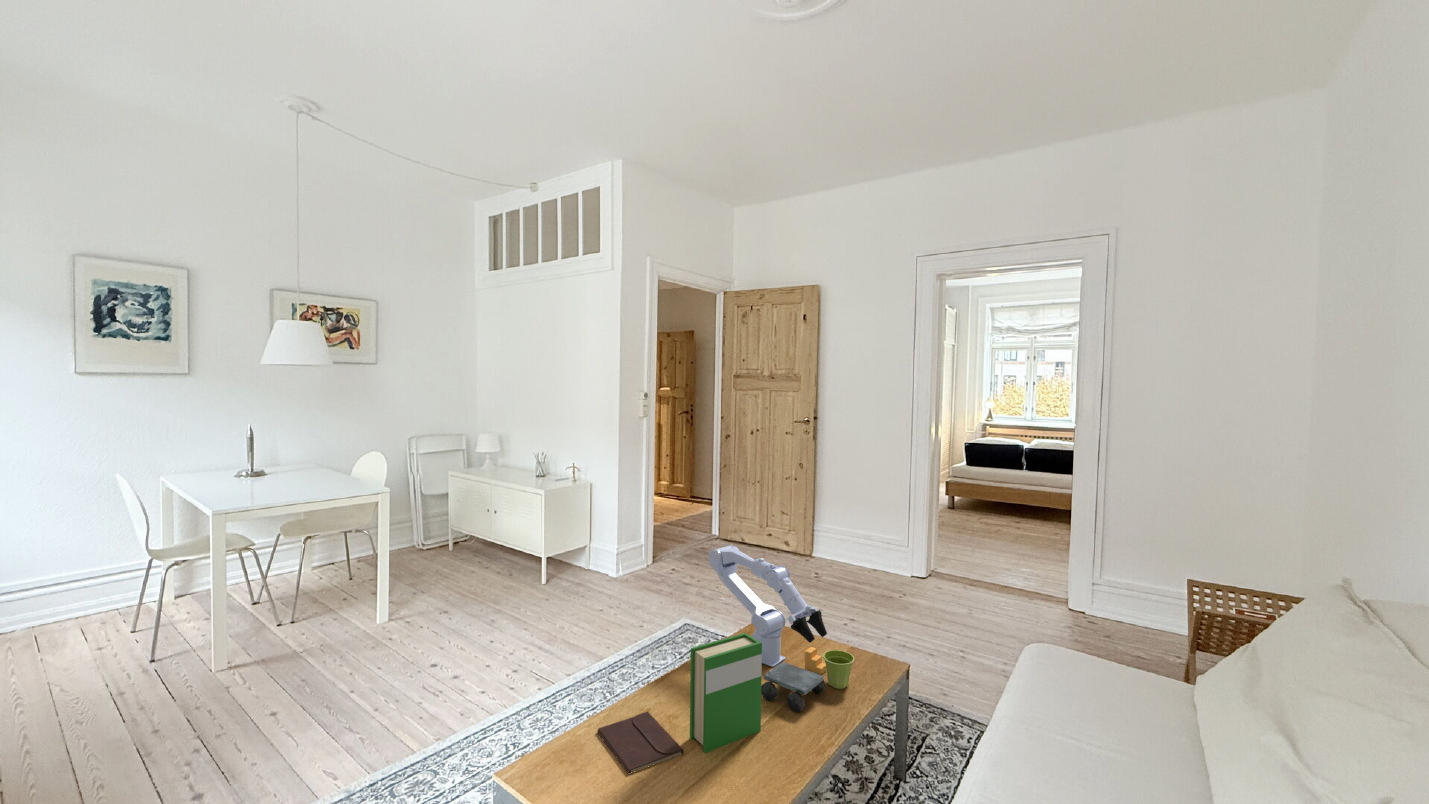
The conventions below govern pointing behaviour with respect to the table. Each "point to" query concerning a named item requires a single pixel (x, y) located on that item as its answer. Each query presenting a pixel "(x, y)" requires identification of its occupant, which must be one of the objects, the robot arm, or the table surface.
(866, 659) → the table surface
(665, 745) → the notebook
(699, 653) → the hardback book
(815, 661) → the orange stepped block
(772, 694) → the trolley
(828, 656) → the plant pot
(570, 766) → the table surface
